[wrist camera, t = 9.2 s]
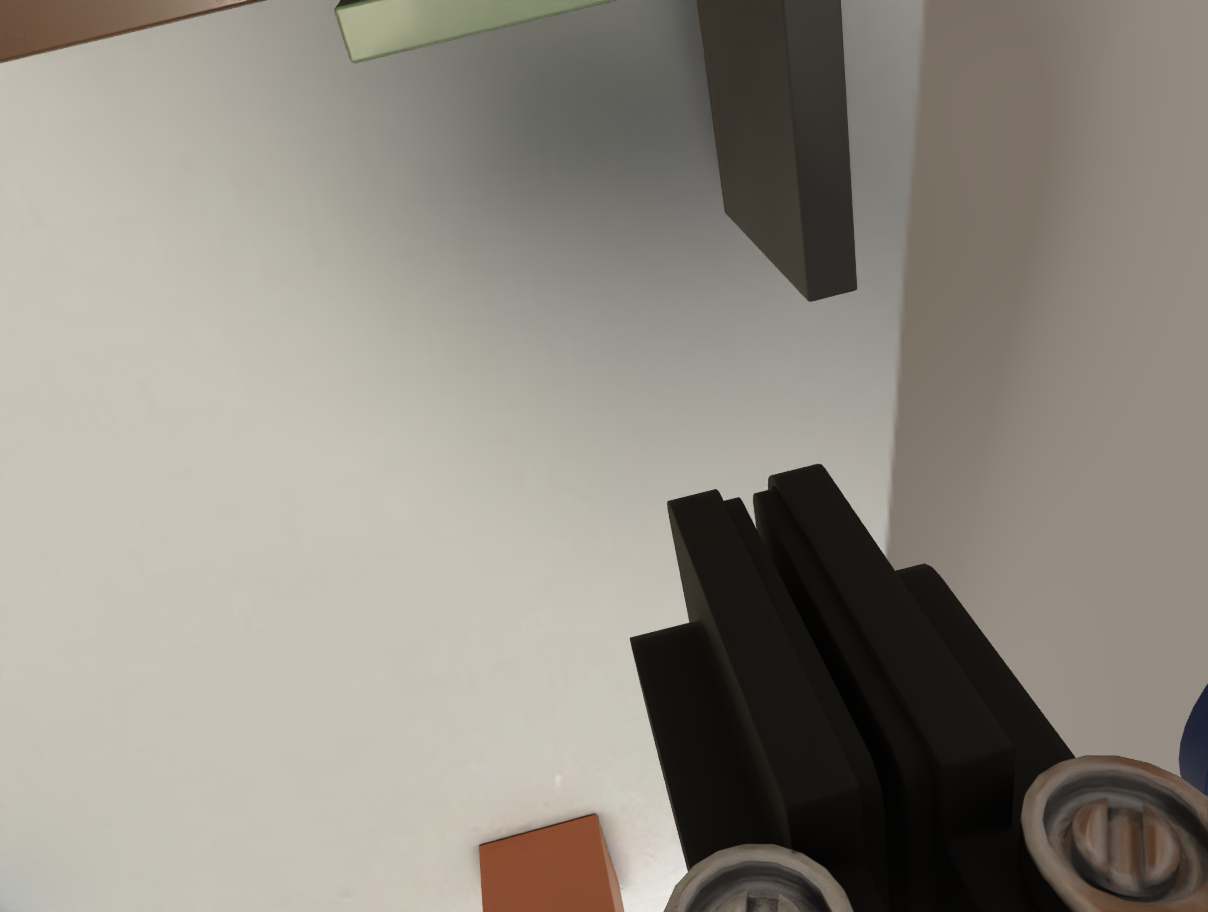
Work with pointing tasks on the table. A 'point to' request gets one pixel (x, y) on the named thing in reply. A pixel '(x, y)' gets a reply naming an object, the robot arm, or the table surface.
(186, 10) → the cabinet
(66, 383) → the table surface
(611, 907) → the block
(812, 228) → the door
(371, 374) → the table surface
